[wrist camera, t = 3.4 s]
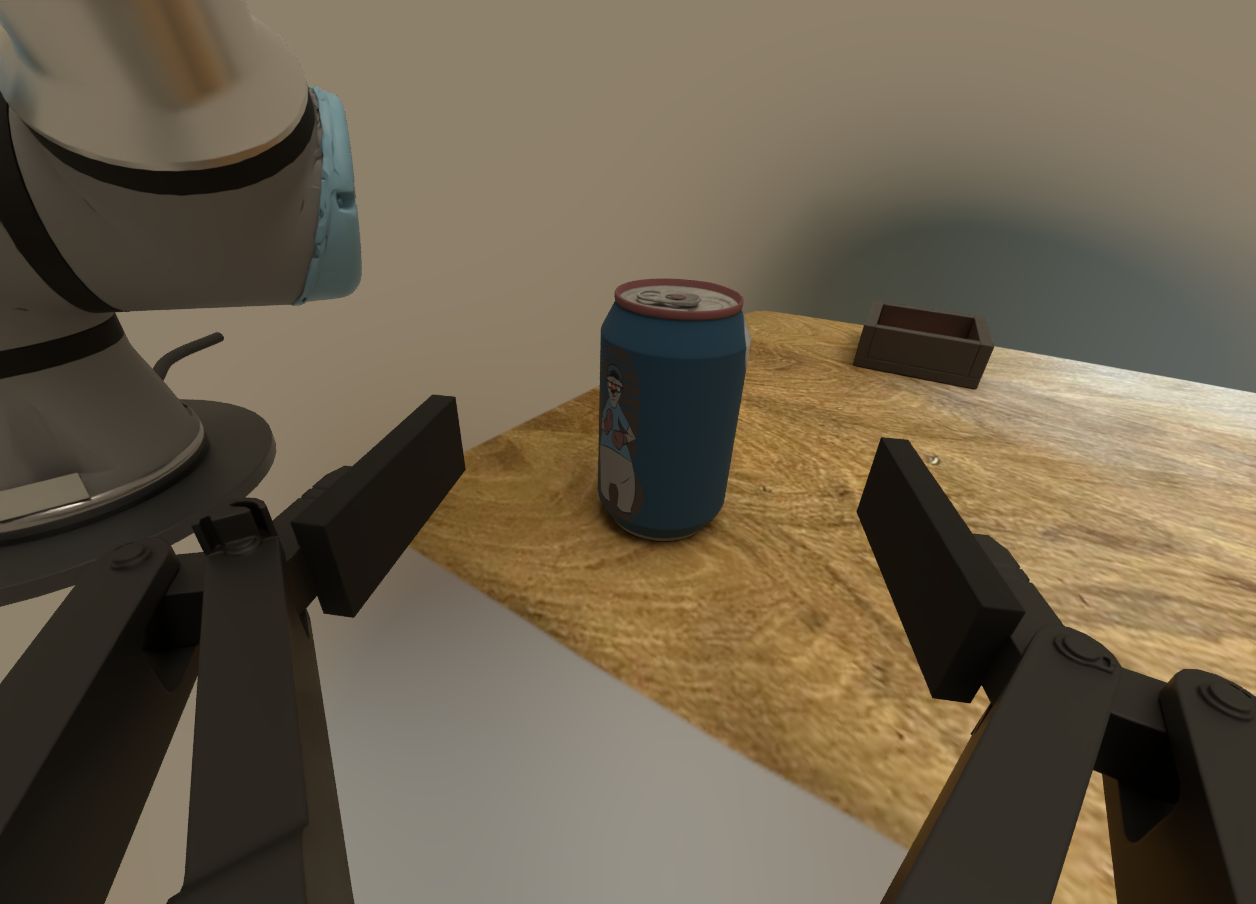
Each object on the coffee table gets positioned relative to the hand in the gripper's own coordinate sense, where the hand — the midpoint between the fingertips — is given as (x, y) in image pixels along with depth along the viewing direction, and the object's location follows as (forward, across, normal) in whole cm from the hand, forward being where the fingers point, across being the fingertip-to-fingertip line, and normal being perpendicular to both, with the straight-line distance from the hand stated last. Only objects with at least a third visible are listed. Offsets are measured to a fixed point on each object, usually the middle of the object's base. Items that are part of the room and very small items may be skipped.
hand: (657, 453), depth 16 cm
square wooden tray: (+39, +23, -9) cm, 46 cm away
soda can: (+10, 0, -9) cm, 13 cm away
